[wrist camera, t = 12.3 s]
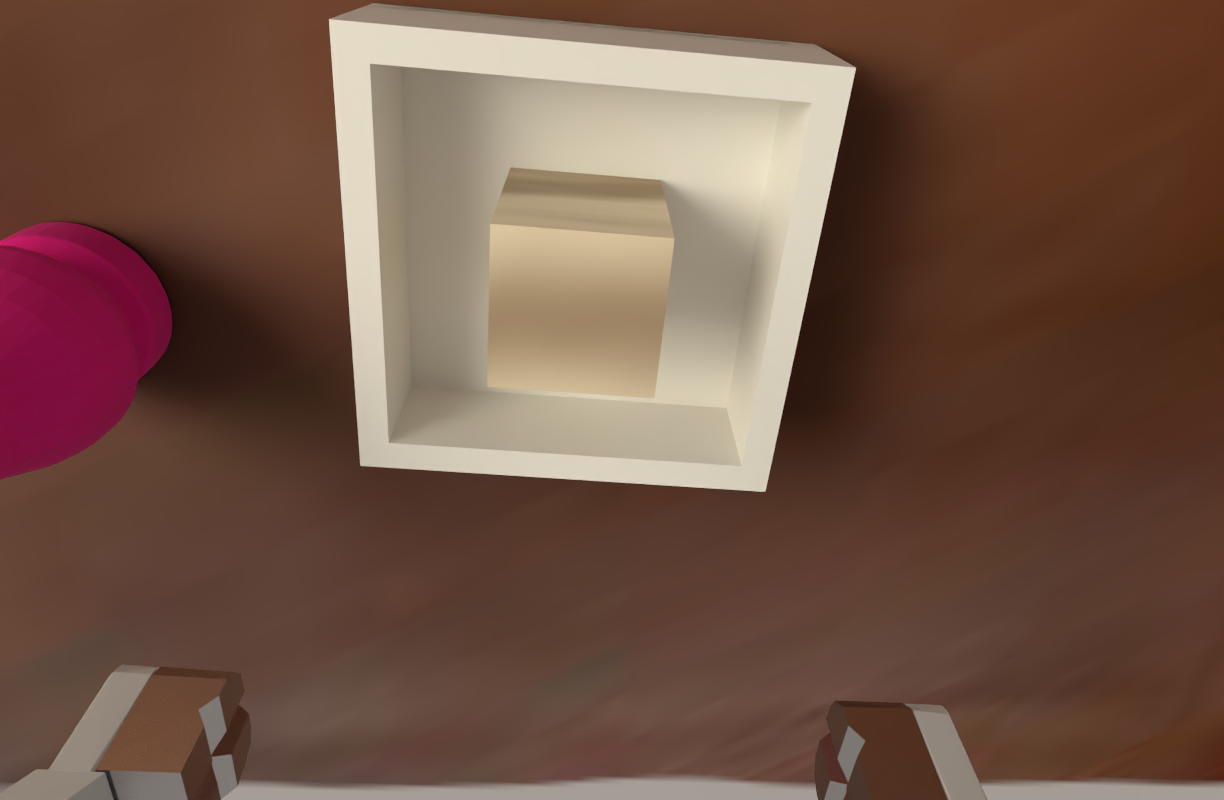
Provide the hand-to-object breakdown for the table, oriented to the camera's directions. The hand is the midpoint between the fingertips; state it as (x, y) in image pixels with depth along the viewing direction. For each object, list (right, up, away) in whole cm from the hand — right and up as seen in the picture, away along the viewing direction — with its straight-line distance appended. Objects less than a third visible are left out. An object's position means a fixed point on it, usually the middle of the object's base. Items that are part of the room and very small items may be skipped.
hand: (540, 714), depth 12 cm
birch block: (0, +10, +18) cm, 20 cm away
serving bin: (0, +10, +18) cm, 21 cm away
